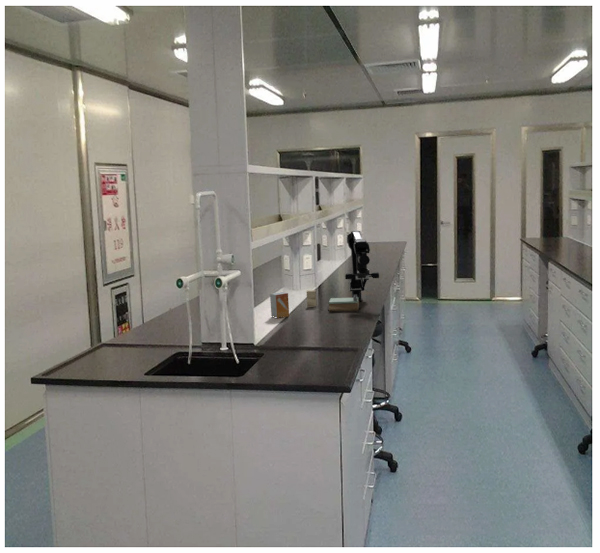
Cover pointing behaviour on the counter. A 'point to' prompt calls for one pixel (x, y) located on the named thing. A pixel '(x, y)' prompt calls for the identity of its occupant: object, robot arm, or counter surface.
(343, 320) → the counter surface
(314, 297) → the brown wooden block
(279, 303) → the small box
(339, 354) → the counter surface
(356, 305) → the open wooden tray
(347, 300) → the lid
